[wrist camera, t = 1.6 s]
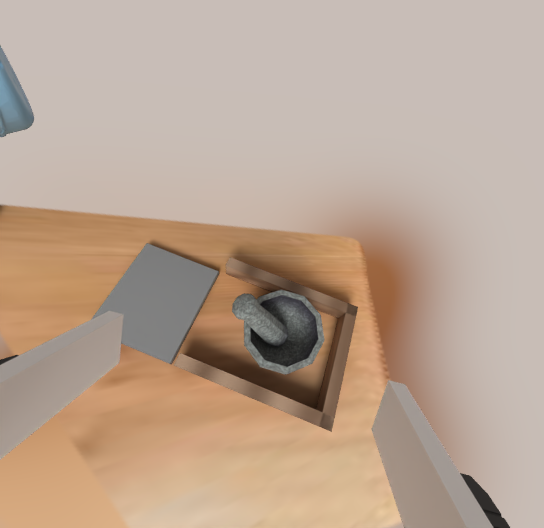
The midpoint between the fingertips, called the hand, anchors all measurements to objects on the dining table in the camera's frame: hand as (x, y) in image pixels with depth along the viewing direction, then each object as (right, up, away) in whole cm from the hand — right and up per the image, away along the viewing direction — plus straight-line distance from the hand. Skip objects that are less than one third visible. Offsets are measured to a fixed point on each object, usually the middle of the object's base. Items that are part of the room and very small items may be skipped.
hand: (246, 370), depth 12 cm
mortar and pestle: (+1, -5, +24) cm, 25 cm away
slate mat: (-15, 0, +24) cm, 29 cm away
